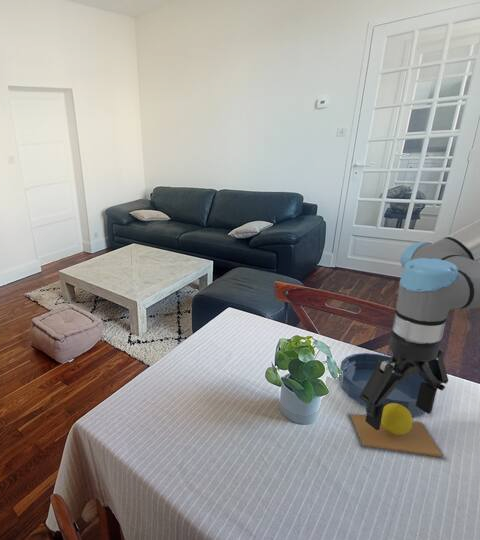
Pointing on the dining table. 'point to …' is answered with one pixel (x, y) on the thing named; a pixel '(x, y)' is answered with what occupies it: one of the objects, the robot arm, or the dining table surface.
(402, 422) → the lemon
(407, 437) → the cork mat
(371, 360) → the bowl
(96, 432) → the dining table surface
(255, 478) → the dining table surface
